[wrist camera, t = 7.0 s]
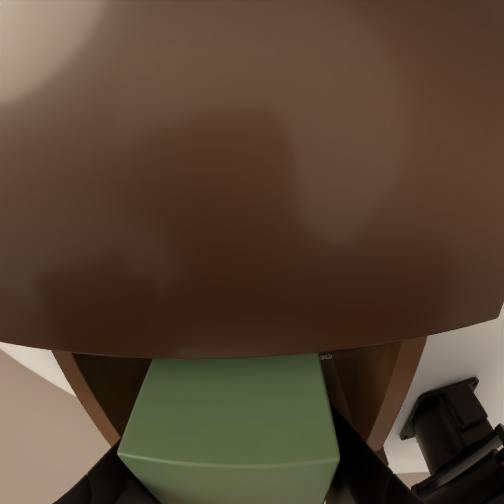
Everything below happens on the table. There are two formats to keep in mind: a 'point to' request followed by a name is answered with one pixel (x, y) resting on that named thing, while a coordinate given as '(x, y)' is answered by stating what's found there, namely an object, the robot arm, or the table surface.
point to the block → (233, 431)
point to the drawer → (334, 371)
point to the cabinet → (248, 174)
